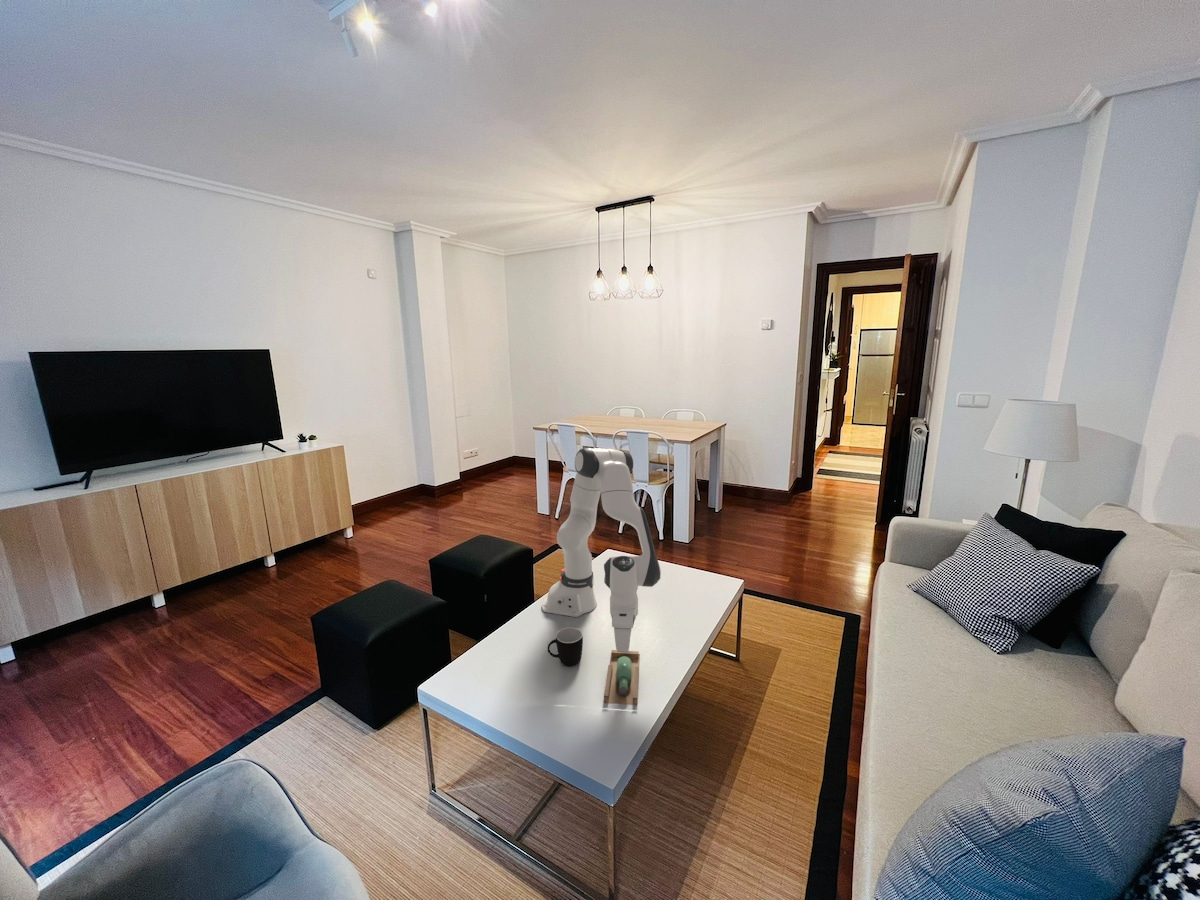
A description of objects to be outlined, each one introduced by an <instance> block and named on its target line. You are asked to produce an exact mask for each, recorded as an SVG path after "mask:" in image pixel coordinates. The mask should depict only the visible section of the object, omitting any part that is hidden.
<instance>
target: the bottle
mask: <svg viewBox="0 0 1200 900" xmlns="http://www.w3.org/2000/svg"><path fill="white" fill-rule="evenodd" d="M631 671H632V662H631V660H630V658H628V657H626V656H623V657H620V658H619V659H618V660H617V672H616V681H617V683H618V684H619V695H620V696H622V697H625V696H627V695H628V685H629V684H630V683H631Z"/></svg>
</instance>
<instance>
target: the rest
mask: <svg viewBox="0 0 1200 900" xmlns="http://www.w3.org/2000/svg"><path fill="white" fill-rule="evenodd" d="M639 652H640V651H638V650H637V651H635V650H629V651H628V652H618V651H617V650H616V649H611V652H610V660H609V664H608V666H607V670H606V671H607V672H606V678H605V685H604V692H603V703H605V704H607V703H608V704H618V705H621V704H622V705H631V706H632V705H633V706H638V697H639V678H640V659H641V653H639ZM623 656H626V657H628V658H630V660H631V662H632V671H631V683H630V684H629V685H628V695H627V696H625V697H622V696H620V695H619V684H618V683H617V681H616V672H617V660H618V659H619V658H620V657H623Z"/></svg>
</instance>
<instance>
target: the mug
mask: <svg viewBox="0 0 1200 900" xmlns="http://www.w3.org/2000/svg"><path fill="white" fill-rule="evenodd" d="M583 636H584V635H583V632H582V630H581V629H579V628H577V627H572V626H569V627H563V628H561V629H559V630H558V631H557V632H556V634H555V639H553V640H551V641H550V642H549V643H548V644H547V652H548V654H549V655H550V656H551V657H552V658H556V659H558V660H559V662H560V664H561V665H563V666H564V667H567V668H571V667H575V666H577V665H579V664H580V662H581V659H582V654H583V646H584V645H583V643H584V637H583ZM553 644H556V650H557V653H556V654H554V653H553V652H552V651H551V650H550V648H551V646H552V645H553Z"/></svg>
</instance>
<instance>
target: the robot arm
mask: <svg viewBox="0 0 1200 900" xmlns="http://www.w3.org/2000/svg"><path fill="white" fill-rule="evenodd" d="M574 458H575V460H574V468H575V471H576V474H575V477H574V481H573V485H572V489H571V494H570V497H569V500H570V512H569V515H568V517H567V519H566V520H565V521H564V522H563V523H562V524H561V525H560V527H559V528H558V530H557V534H556V542H557V544H558V546H559V547H560V548H561V549H562V553H563V559H564V560H563V561H564V568H562V569H561V571H560V576H559V580H558V581H557V582H555V583H553V585H552V586H551V587H550V588H549V590H548V593H547V595H548V596H547V595H545V596H544V598H543V600H542V603H541V611H543V612H544V613H549V614H555V615H561V616H566V617H573V618H579V617H580V616H582V615H583V614H586V613H590V612H592V611H594V609H595V608H596V607H597V600H596V596H595V592H594V583H595V582H594V572H593V558H592V557H593V556H592V553H591V552H590V549H589V545H588V539H589V537H590V535H592V532H594V531H595V527H596V524H597V514H598V513H597V512H598V504H599V502H600V501H599V500H601V506H602V510H603V511H604V513H605V514H606V515H607V516H608V517H610V518H612V519H614V520H617V521H619V522H622V523H624V524H628V525H630V526H631V527H633V528H634V529H635V530H636V532H637V536H638V539H639V544H640V548H641V551H642V553H641V554H640V555H633V556H627V555H620V556H611V557H609V558H608V559H607V560H606V562H605V563H604V564H603V570H604V579H603V580H604V584H605V585H606V587H607V588H608V589H610V597H609V614H610V618H611V627H612V628H613V634H614V642H615V643H614V644H615V648H616V649H615V650H617V651H618V652H628V651H630V643H631V635H632V634H631V633H632V629H634V625H635V621H636V619H637V616H638V615H639V597H638V593H637V592H638V589H639V587H648V588H649V587H650V588H652V587H654V586H655V585H656V584H658V582H659V581H660V579H661V575H662V572H661V571H662V570H661V569H662V568H661V566H660V563H659V561H658V558H657V554H656V550H655V546H654V542H653V538H652V535H651V530H650V526H649V522H648V519H647V516H646V513H645V511H644V509H643V507H641V506H639V505H638V504H637V502H636V500H635V497H634V488H633V481H632V475H631V473H632V472H633V469H634V459H633V456H632V455H631V453H630V452H628V451H625V450H623V449H620V450H619V449H616V448H614V449H613V448H609V447H605V448H603V447H601V448H600V447H596V448H595V447H594V448H593V447H584V448H580V449H579V450H578V451H577V452H576V454H575V457H574ZM600 497H601V499H600Z"/></svg>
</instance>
